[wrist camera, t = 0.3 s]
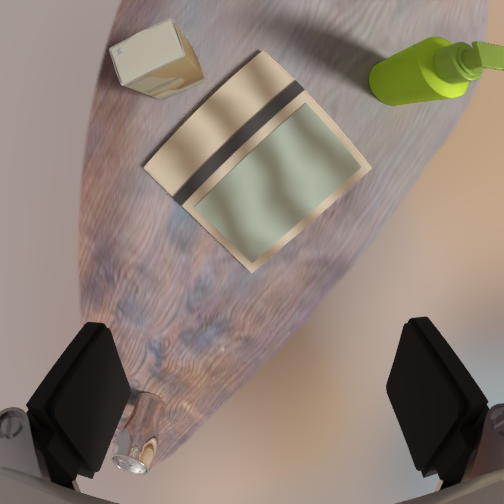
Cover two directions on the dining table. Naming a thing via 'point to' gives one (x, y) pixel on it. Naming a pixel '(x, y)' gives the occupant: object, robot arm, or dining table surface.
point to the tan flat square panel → (257, 162)
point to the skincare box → (157, 61)
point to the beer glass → (139, 435)
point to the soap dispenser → (432, 70)
